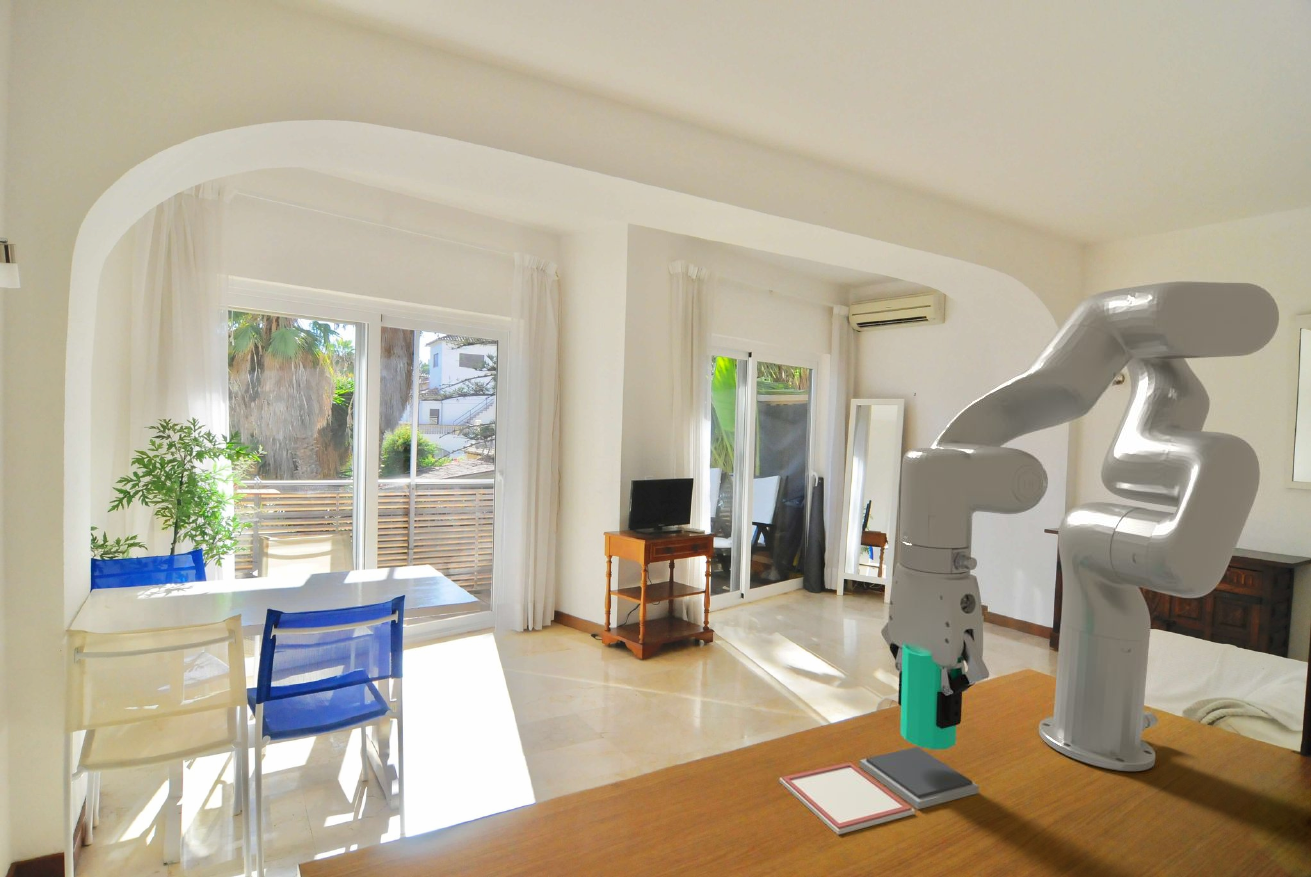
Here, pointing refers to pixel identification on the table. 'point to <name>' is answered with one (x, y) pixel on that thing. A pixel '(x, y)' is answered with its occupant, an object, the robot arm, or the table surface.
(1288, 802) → the table surface
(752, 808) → the table surface
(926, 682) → the candle
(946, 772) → the ink pad
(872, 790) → the marked card
